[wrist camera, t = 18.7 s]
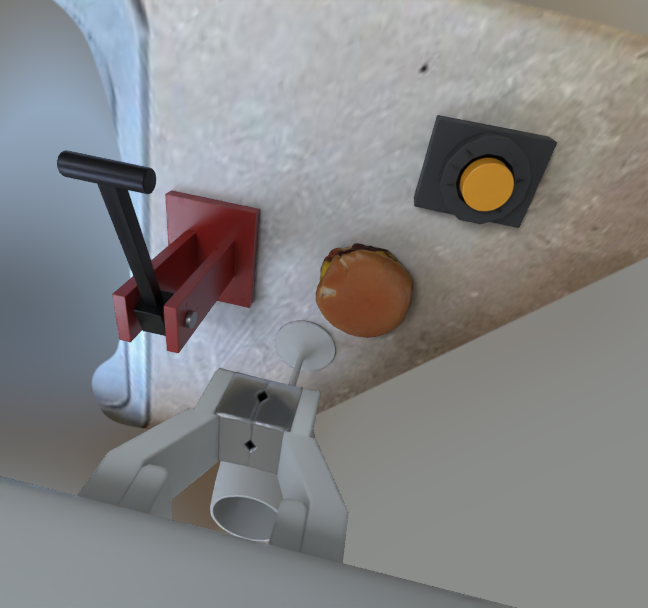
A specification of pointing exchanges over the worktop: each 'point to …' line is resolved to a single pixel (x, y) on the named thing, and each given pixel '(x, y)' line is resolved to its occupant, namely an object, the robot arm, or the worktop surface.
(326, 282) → the burger
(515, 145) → the button box
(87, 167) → the lever
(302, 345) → the wineglass
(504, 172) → the button
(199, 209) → the bracket
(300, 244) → the worktop surface
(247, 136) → the worktop surface
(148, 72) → the worktop surface
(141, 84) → the worktop surface
